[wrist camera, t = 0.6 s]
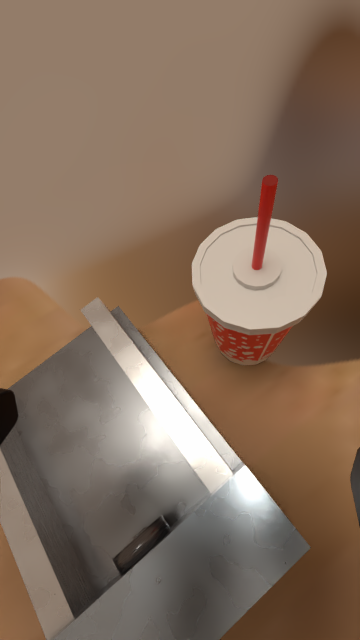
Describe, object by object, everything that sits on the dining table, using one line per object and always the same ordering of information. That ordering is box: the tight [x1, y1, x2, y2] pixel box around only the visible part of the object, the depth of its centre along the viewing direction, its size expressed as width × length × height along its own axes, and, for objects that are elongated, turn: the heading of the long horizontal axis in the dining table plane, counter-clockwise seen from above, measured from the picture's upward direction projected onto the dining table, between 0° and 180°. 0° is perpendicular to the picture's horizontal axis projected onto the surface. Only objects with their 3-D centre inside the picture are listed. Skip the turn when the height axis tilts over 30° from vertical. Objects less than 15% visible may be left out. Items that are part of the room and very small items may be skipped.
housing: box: [0, 297, 311, 640], centre depth 18 cm, size 18×13×5 cm
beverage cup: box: [192, 175, 327, 365], centre depth 16 cm, size 6×6×14 cm
